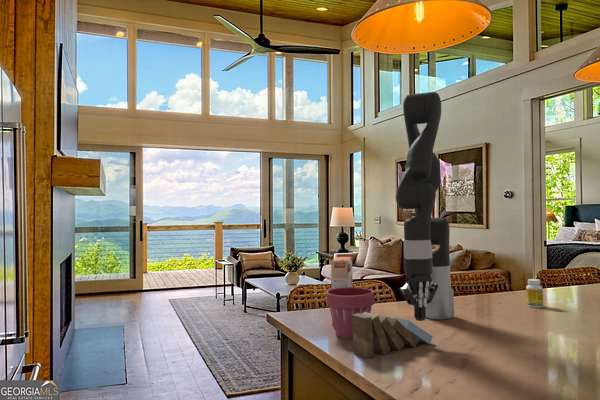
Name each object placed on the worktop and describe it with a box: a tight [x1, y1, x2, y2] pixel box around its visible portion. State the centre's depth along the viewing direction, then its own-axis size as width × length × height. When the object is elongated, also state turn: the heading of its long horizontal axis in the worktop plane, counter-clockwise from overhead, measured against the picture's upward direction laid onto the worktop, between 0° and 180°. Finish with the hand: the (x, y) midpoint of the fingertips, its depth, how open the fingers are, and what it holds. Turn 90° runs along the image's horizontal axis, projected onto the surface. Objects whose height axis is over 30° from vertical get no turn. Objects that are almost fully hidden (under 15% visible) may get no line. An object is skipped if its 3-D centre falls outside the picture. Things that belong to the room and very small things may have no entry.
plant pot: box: [325, 286, 375, 339], centre depth 140 cm, size 14×14×13 cm
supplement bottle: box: [525, 278, 544, 308], centre depth 171 cm, size 5×5×10 cm
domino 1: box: [352, 313, 375, 360], centre depth 119 cm, size 2×5×10 cm, turn 32°
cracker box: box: [330, 256, 354, 327], centre depth 156 cm, size 14×6×21 cm, turn 168°
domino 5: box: [394, 316, 433, 345], centre depth 127 cm, size 2×5×10 cm
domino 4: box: [384, 315, 420, 348], centre depth 125 cm, size 2×5×10 cm
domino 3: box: [374, 313, 405, 352], centre depth 123 cm, size 2×5×10 cm
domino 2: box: [362, 312, 391, 355], centre depth 120 cm, size 2×5×10 cm, turn 32°
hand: (420, 320), depth 129 cm, fingers closed
